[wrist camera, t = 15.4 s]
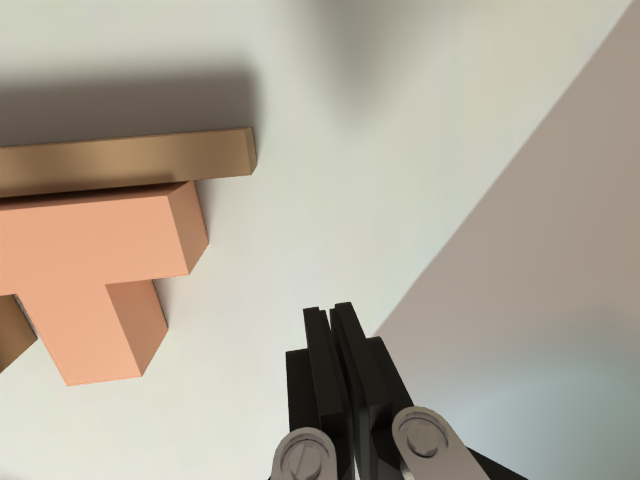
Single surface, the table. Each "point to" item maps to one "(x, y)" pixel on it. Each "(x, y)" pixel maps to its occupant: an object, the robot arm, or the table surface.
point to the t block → (99, 270)
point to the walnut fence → (112, 182)
